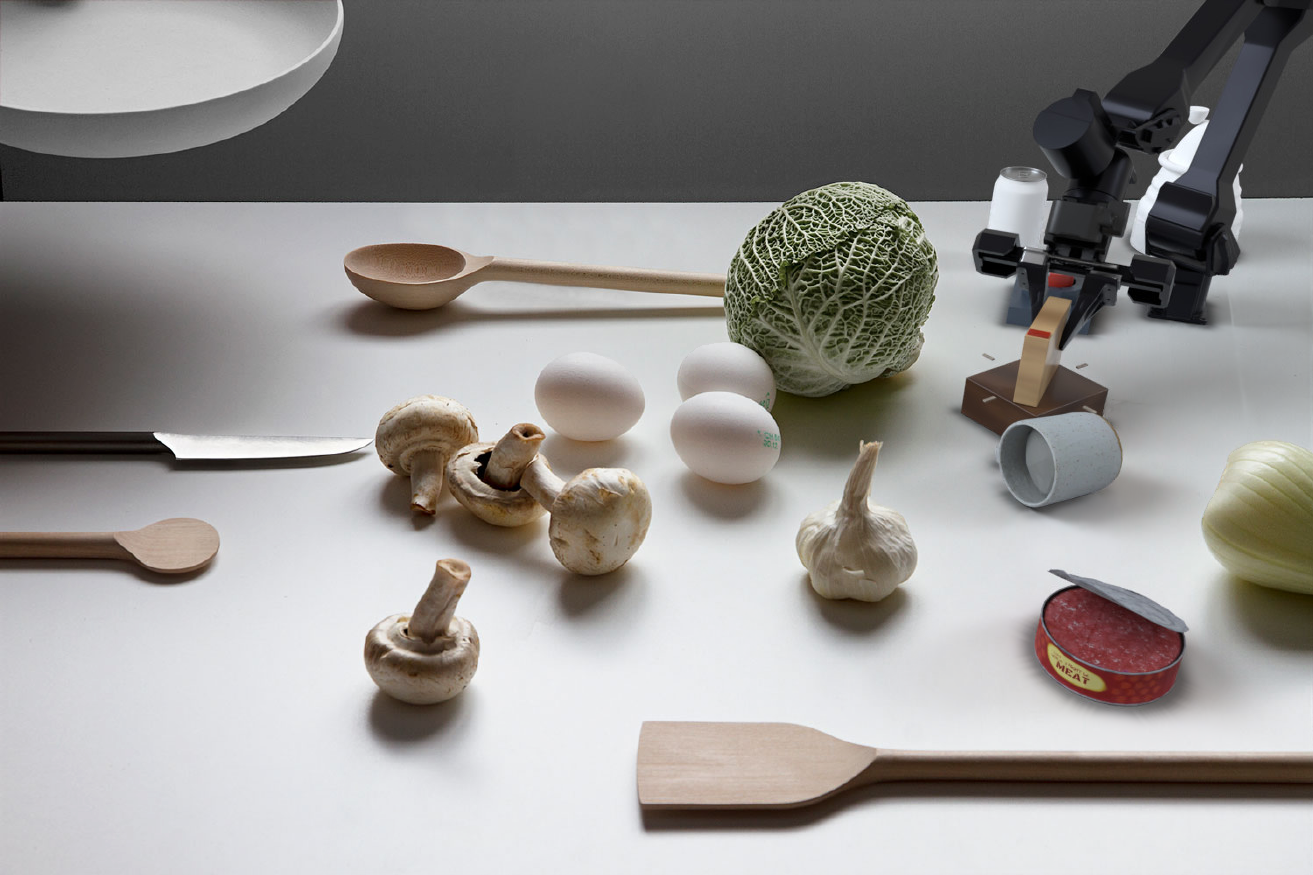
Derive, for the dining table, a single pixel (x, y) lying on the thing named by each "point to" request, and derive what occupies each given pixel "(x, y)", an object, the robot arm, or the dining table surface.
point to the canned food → (1109, 642)
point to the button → (1060, 280)
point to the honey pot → (1172, 169)
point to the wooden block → (997, 411)
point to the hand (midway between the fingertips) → (1046, 346)
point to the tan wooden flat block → (1041, 351)
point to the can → (1019, 203)
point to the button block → (1021, 301)
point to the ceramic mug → (1058, 457)
